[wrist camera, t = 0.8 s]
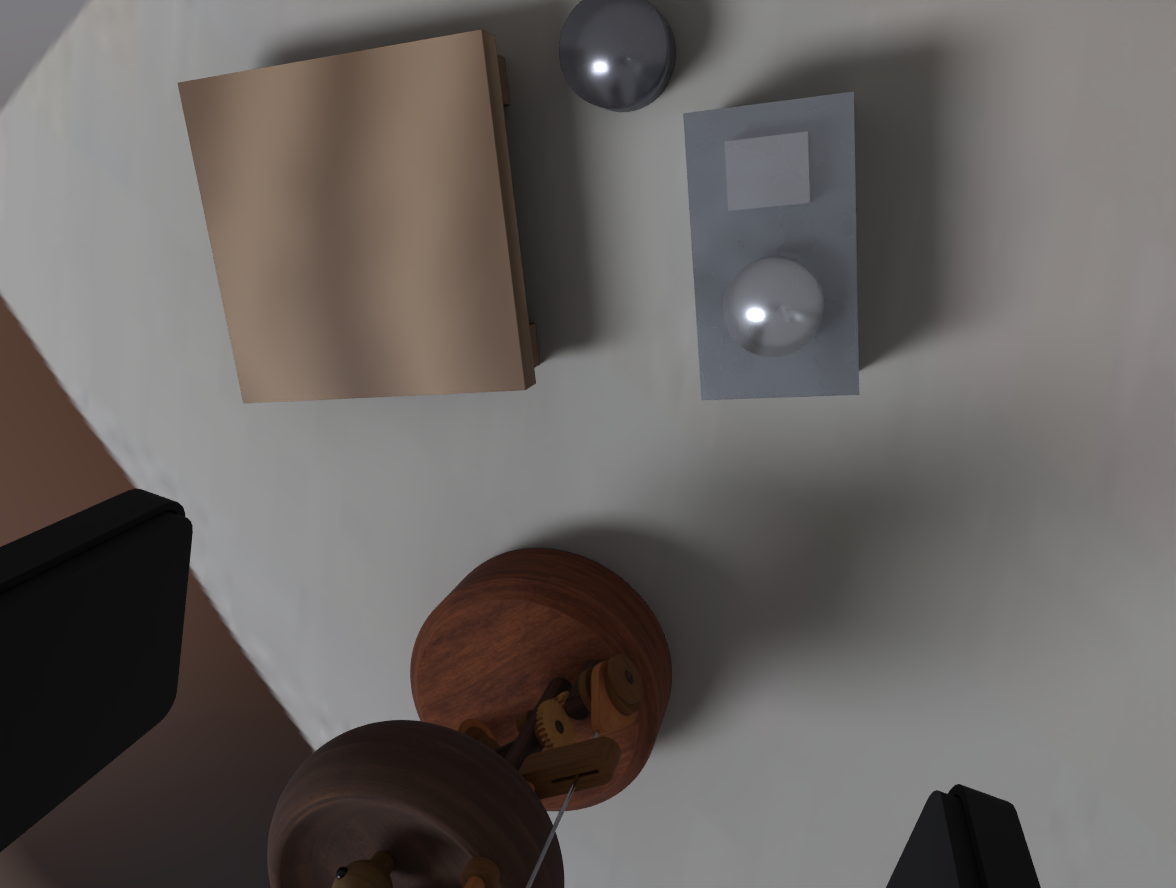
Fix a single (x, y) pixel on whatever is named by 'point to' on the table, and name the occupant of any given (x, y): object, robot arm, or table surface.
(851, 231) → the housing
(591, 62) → the dark grey round piece
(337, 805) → the music box
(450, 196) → the stand
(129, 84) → the table surface
